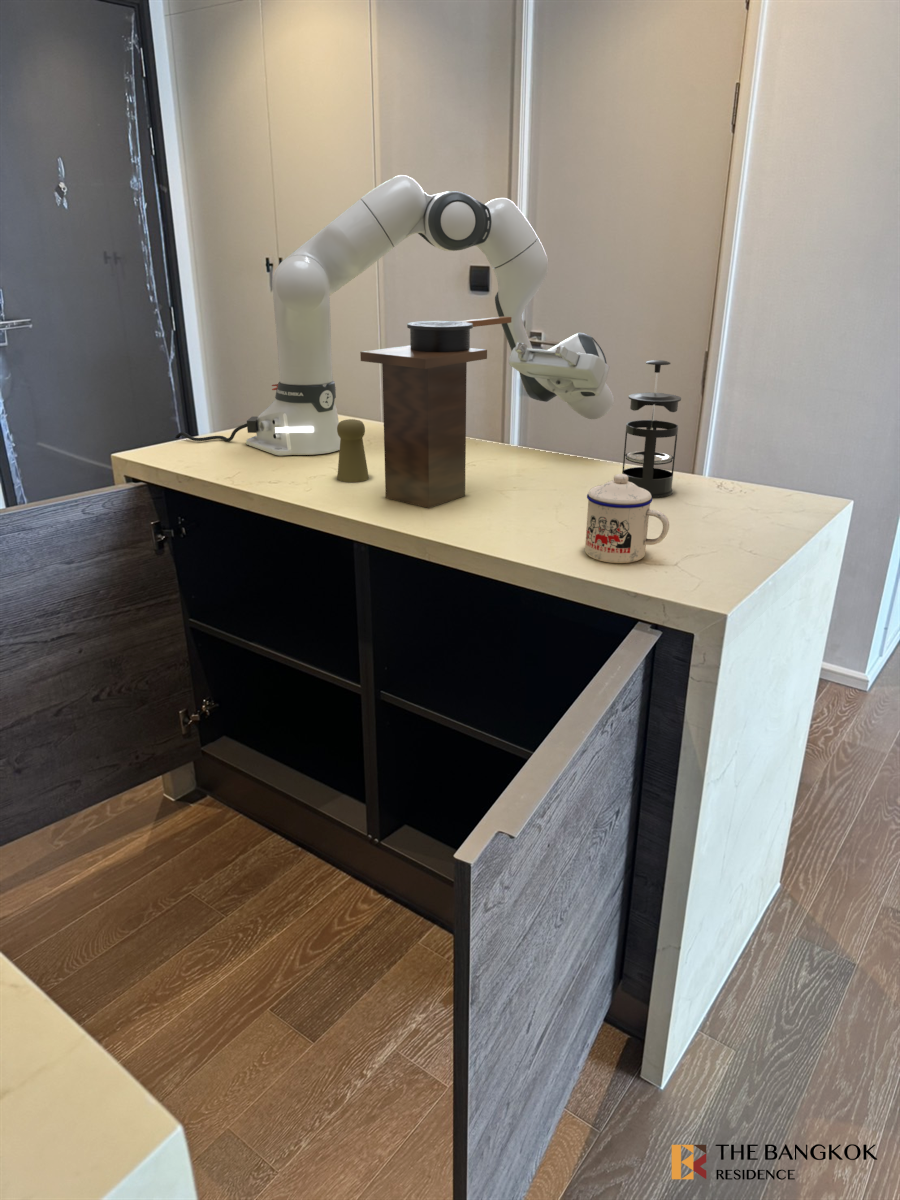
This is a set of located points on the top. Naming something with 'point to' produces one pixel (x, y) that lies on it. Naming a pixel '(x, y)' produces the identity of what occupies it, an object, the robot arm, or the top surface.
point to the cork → (352, 451)
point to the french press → (652, 441)
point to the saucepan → (446, 334)
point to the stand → (424, 422)
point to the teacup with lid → (620, 521)
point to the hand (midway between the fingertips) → (538, 347)
